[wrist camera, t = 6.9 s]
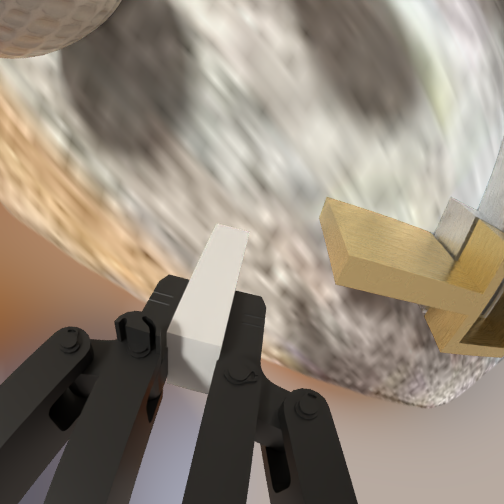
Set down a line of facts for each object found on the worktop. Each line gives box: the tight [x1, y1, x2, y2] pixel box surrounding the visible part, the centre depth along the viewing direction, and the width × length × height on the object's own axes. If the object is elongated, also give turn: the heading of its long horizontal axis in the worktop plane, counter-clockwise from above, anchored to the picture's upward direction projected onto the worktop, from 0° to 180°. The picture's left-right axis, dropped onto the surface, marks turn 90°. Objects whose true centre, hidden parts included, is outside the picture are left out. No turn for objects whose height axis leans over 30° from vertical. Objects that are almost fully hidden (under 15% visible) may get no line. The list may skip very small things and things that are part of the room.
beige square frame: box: [319, 197, 504, 358], centre depth 20 cm, size 10×22×10 cm, turn 77°
